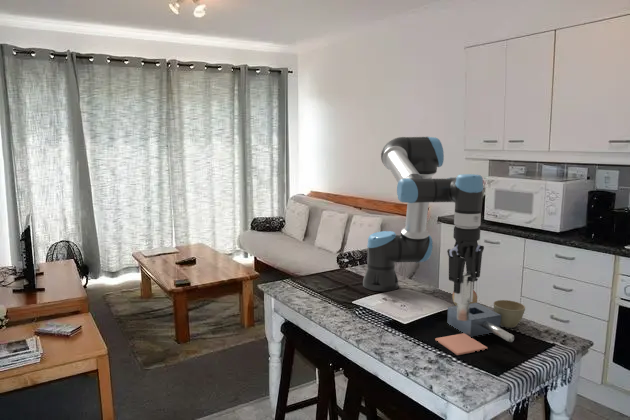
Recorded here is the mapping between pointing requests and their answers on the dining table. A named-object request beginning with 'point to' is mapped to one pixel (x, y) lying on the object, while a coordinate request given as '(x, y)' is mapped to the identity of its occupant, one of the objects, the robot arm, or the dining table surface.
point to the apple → (470, 302)
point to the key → (465, 298)
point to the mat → (461, 344)
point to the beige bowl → (509, 312)
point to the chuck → (478, 322)
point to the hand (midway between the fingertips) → (463, 301)
